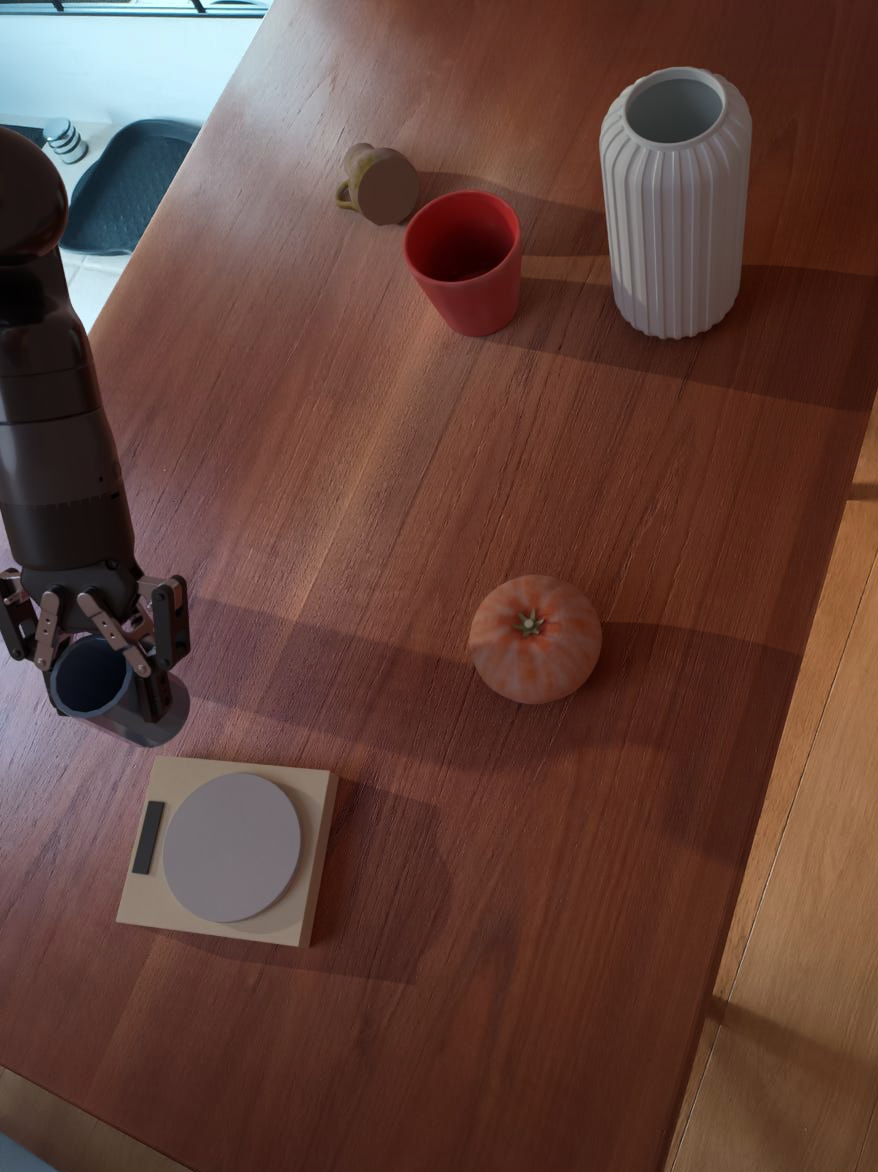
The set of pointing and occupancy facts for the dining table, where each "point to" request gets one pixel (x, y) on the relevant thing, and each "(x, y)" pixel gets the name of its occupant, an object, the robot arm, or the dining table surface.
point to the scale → (230, 850)
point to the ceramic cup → (112, 694)
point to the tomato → (535, 639)
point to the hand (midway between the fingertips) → (114, 714)
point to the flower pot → (467, 259)
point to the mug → (379, 184)
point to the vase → (676, 199)
